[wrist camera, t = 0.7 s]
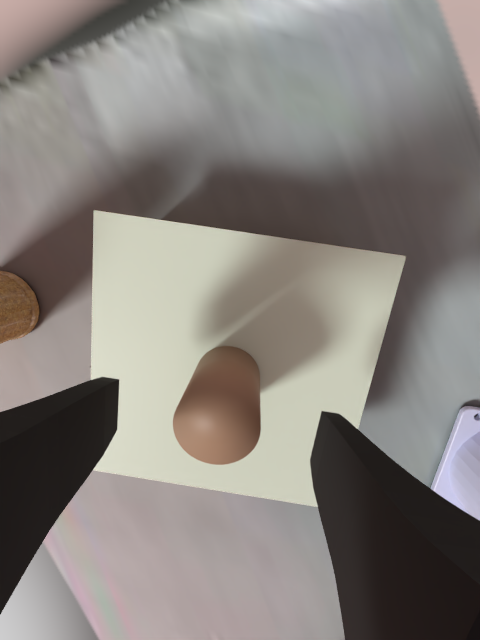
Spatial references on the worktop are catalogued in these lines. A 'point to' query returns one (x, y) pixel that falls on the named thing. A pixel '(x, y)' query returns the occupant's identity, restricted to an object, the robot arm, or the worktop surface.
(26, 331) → the sprinkles bottle
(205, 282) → the lid
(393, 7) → the worktop surface
